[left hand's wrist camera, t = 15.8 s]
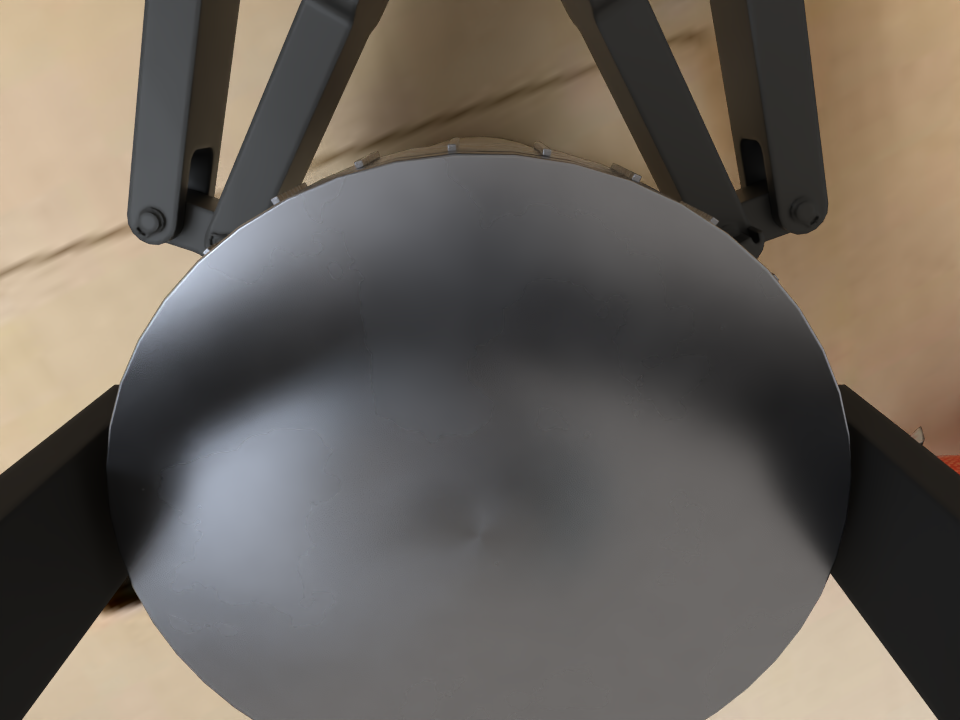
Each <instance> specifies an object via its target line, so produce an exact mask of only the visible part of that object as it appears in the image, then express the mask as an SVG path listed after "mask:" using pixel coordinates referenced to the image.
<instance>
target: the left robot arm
mask: <svg viewBox="0 0 960 720" xmlns="http://www.w3.org/2000/svg"><path fill="white" fill-rule="evenodd" d="M838 387H839V389H840V393H841V397H842V402H843V407H844V412H845V416H846V421H847V426H848V431H849V435H850V456H851V477H852V479H851V488H850V497H849V506H848V515H847V521H846V525H845V529H844V532H843V536H842V540H841V544H840V547H839V551H838V555H837V559H836V561H835V563H834V566H833V568H832V570H831V575H832V576H833V578H834V579H835V580H836V582H837V583H838V584H839V586H840V587H841V588H842V590H843V591H844V592H845V594H846V595H847V597H848V598H849V599H850V601H851V602H852V603H853V605H854V606H855V607H856V609H857V610H858V611H859V613H860V614H861V616H862V617H863V618H864V620H865V621H866V622H867V624H868V625H869V626H870V628H871V629H872V630H873V632H874V633H875V635H876V636H877V637H878V639H879V640H880V641H881V643H882V644H883V645H884V647H885V648H886V650H887V651H888V652H889V654H890V655H891V656H892V658H893V659H894V660H895V662H896V663H897V664H898V666H899V667H900V669H901V670H902V671H903V673H904V674H905V675H906V677H907V678H908V679H909V681H910V682H911V683H912V685H913V686H914V688H915V689H916V690H917V692H918V693H919V694H920V696H921V697H922V698H923V700H924V701H925V703H926V704H927V705H928V707H929V708H930V709H931V711H932V712H933V713H934V715H935V716H936V717H937V719H938V720H960V475H959V474H958V473H957V472H956V471H954V470H953V469H952V468H950V467H949V466H948V465H947V464H945V463H944V462H943V461H942V460H940V459H939V458H938V457H936V456H935V455H934V454H933V453H931V452H930V451H929V450H928V449H926V448H925V447H924V446H922V445H921V444H920V443H919V442H917V441H916V440H915V439H914V438H912V437H911V436H910V435H909V434H907V433H906V432H905V431H903V430H902V429H901V428H900V427H898V426H897V425H896V424H895V423H893V422H892V421H891V420H889V419H888V418H887V417H886V416H884V415H883V414H882V413H881V412H879V411H878V410H877V409H875V408H874V407H873V406H872V405H870V404H869V403H868V402H867V401H865V400H864V399H863V398H862V397H860V396H859V395H858V394H856V393H855V392H854V391H853V390H851V389H850V388H849V387H848V386H846V385H838ZM118 389H119V385H114V386H112V387H111V388H110V389H109V390H107V391H106V392H105V393H104V394H102V395H101V396H100V397H98V398H97V399H96V400H95V401H93V402H92V403H91V404H90V405H88V406H87V407H86V408H85V409H83V410H82V411H81V412H79V413H78V414H77V415H76V416H74V417H73V418H72V419H71V420H69V421H68V422H67V423H65V424H64V425H63V426H62V427H60V428H59V429H58V430H57V431H55V432H54V433H53V434H51V435H50V436H49V437H48V438H46V439H45V440H44V441H43V442H41V443H40V444H39V445H38V446H36V447H35V448H34V449H32V450H31V451H30V452H29V453H27V454H26V455H25V456H24V457H22V458H21V459H20V460H18V461H17V462H16V463H15V464H13V465H12V466H11V467H10V468H8V469H7V470H6V471H4V472H3V473H2V474H1V475H0V720H22V719H23V717H24V716H25V715H26V713H27V712H28V711H29V709H30V708H31V707H32V705H33V704H34V703H35V701H36V700H37V698H38V697H39V696H40V694H41V693H42V692H43V690H44V689H45V688H46V686H47V685H48V683H49V682H50V681H51V679H52V678H53V677H54V675H55V674H56V673H57V671H58V670H59V669H60V667H61V666H62V664H63V663H64V662H65V660H66V659H67V658H68V656H69V655H70V654H71V652H72V651H73V650H74V648H75V647H76V645H77V644H78V643H79V641H80V640H81V639H82V637H83V636H84V635H85V633H86V632H87V630H88V629H89V628H90V626H91V625H92V624H93V622H94V621H95V620H96V618H97V617H98V616H99V614H100V613H101V611H102V610H103V609H104V607H105V606H106V605H107V603H108V602H109V601H110V599H111V598H112V597H113V595H114V594H115V592H116V591H117V590H118V588H119V587H120V586H121V584H122V583H123V582H124V580H125V579H126V578H127V576H128V573H127V571H126V568H125V566H124V563H123V560H122V558H121V555H120V553H119V550H118V546H117V542H116V538H115V533H114V529H113V525H112V521H111V516H110V512H109V502H108V489H107V476H106V462H107V450H108V437H109V426H110V421H111V417H112V413H113V409H114V405H115V401H116V397H117V393H118Z"/></svg>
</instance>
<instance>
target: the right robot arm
mask: <svg viewBox="0 0 960 720" xmlns="http://www.w3.org/2000/svg"><path fill="white" fill-rule="evenodd" d="M388 1H389V0H302V1H301V4H300V6H299V8H298V11H297V13H296V16H295V18H294V21H293V23H292V25H291V28H290V30H289V33H288V35H287V37H286V40H285V42H284V45H283V47H282V50H281V52H280V54H279V57H278V59H277V62H276V64H275V66H274V69H273V71H272V74H271V76H270V79H269V81H268V83H267V86H266V88H265V91H264V93H263V95H262V98H261V100H260V103H259V105H258V107H257V110H256V112H255V115H254V117H253V120H252V122H251V124H250V127H249V129H248V132H247V134H246V136H245V139H244V141H243V144H242V146H241V149H240V151H239V153H238V156H237V158H236V161H235V163H234V165H233V168H232V170H231V173H230V175H229V178H228V180H227V182H226V185H225V187H224V190H223V192H222V194H221V197H220V199H218V198H215V197H214V193H215V186H216V178H217V171H218V163H219V156H220V148H221V140H222V133H223V125H224V118H225V110H226V103H227V95H228V87H229V80H230V72H231V65H232V57H233V50H234V42H235V35H236V27H237V19H238V12H239V4H240V0H145V9H144V21H143V33H142V45H141V57H140V69H139V80H138V92H137V104H136V116H135V128H134V140H133V151H132V163H131V175H130V187H129V199H128V211H127V217H128V224H129V226H130V228H131V230H132V232H133V233H134V234H135V235H136V236H137V237H138V238H139V239H140V240H142V241H144V242H146V243H148V244H154V245H160V244H163V243H169V244H172V245H175V246H178V247H181V248H184V249H187V250H190V251H193V252H195V253H197V254H200V255H201V256H202V257H203V256H204V254H203V252H204V251H205V250H206V249H207V248H208V247H210V246H212V245H214V244H215V243H217V242H219V241H221V240H223V239H224V238H226V237H227V236H228V235H229V234H230V233H232V232H233V231H234V230H235V229H236V228H238V227H239V226H241V225H242V224H244V223H245V222H247V221H249V220H250V219H252V218H254V217H255V216H257V215H259V214H260V213H262V212H264V211H265V210H267V209H268V208H270V207H272V206H273V205H274V204H273V203H272V201H271V199H272V198H274V197H276V196H277V195H280V194H282V193H284V192H286V191H288V190H290V189H292V188H294V187H296V186H298V185H300V184H302V182H303V179H304V177H305V175H306V173H307V171H308V168H309V166H310V164H311V162H312V160H313V157H314V155H315V153H316V151H317V149H318V146H319V144H320V142H321V140H322V138H323V136H324V133H325V131H326V129H327V127H328V125H329V122H330V120H331V118H332V116H333V114H334V111H335V109H336V107H337V105H338V103H339V100H340V98H341V96H342V94H343V92H344V89H345V87H346V85H347V83H348V81H349V78H350V76H351V74H352V72H353V70H354V68H355V65H356V63H357V61H358V59H359V57H360V54H361V52H362V50H363V48H364V46H365V43H366V41H367V39H368V37H369V35H370V33H371V32H372V31H373V29H374V28H375V27H376V25H377V24H378V22H379V20H380V18H381V16H382V14H383V12H384V10H385V8H386V6H387V3H388ZM561 1H562V3H563V5H564V7H565V9H566V11H567V13H568V15H569V17H570V18H571V20H572V22H573V23H574V24H575V25H576V27H577V28H578V29H579V31H580V32H581V34H582V36H583V38H584V40H585V42H586V44H587V46H588V48H589V50H590V52H591V54H592V56H593V58H594V60H595V62H596V64H597V66H598V68H599V70H600V72H601V74H602V76H603V78H604V80H605V82H606V84H607V86H608V88H609V90H610V92H611V94H612V96H613V98H614V100H615V102H616V104H617V106H618V108H619V110H620V112H621V114H622V116H623V118H624V120H625V122H626V124H627V126H628V128H629V130H630V132H631V134H632V136H633V138H634V140H635V142H636V144H637V146H638V148H639V150H640V152H641V154H642V156H643V158H644V160H645V162H646V164H647V166H648V168H649V170H650V172H651V174H652V176H653V178H654V180H655V182H656V184H657V186H658V188H659V190H660V192H661V193H663V194H665V195H667V196H668V197H670V198H672V199H674V200H676V201H678V202H681V201H683V202H685V203H687V204H689V205H691V206H693V207H695V208H697V209H699V210H701V211H702V212H704V213H706V214H708V215H710V216H712V217H714V218H715V219H717V220H718V221H719V222H718V223H717V224H716V226H717V227H719V228H720V229H722V230H723V231H725V232H726V233H728V234H729V235H730V236H731V237H732V238H734V239H735V240H736V241H737V242H738V243H739V244H740V245H741V246H743V247H744V248H745V249H746V250H747V251H748V252H749V253H750V254H752V255H753V256H754V257H755V258H756V259H757V258H758V257H759V255H760V254H761V252H762V250H763V247H764V242H765V241H768V240H771V239H774V238H776V237H779V236H782V235H785V234H788V233H790V232H791V233H794V234H797V235H798V234H807V233H809V232H811V231H813V230H815V229H816V228H817V227H818V226H819V225H820V224H821V223H822V222H823V221H824V219H825V216H826V214H827V211H828V198H827V190H826V181H825V173H824V165H823V156H822V148H821V140H820V131H819V123H818V115H817V106H816V98H815V90H814V81H813V73H812V65H811V56H810V48H809V40H808V31H807V23H806V15H805V7H804V0H710V5H711V11H712V17H713V23H714V29H715V35H716V41H717V47H718V53H719V59H720V64H721V70H722V76H723V82H724V88H725V94H726V100H727V106H728V112H729V118H730V124H731V130H732V136H733V142H734V148H735V154H736V160H737V166H738V172H739V178H740V184H741V189H739V190H736V191H735V189H734V187H733V185H732V183H731V181H730V179H729V176H728V174H727V172H726V170H725V168H724V165H723V163H722V161H721V159H720V157H719V154H718V152H717V150H716V148H715V146H714V144H713V141H712V139H711V137H710V135H709V133H708V130H707V128H706V126H705V124H704V122H703V119H702V117H701V115H700V113H699V111H698V109H697V106H696V104H695V102H694V100H693V98H692V95H691V93H690V91H689V89H688V87H687V84H686V82H685V80H684V78H683V76H682V74H681V71H680V69H679V67H678V65H677V63H676V60H675V58H674V56H673V54H672V52H671V49H670V47H669V45H668V43H667V41H666V39H665V36H664V34H663V32H662V30H661V28H660V25H659V23H658V21H657V19H656V17H655V14H654V12H653V10H652V8H651V6H650V4H649V1H648V0H561Z"/></svg>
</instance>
